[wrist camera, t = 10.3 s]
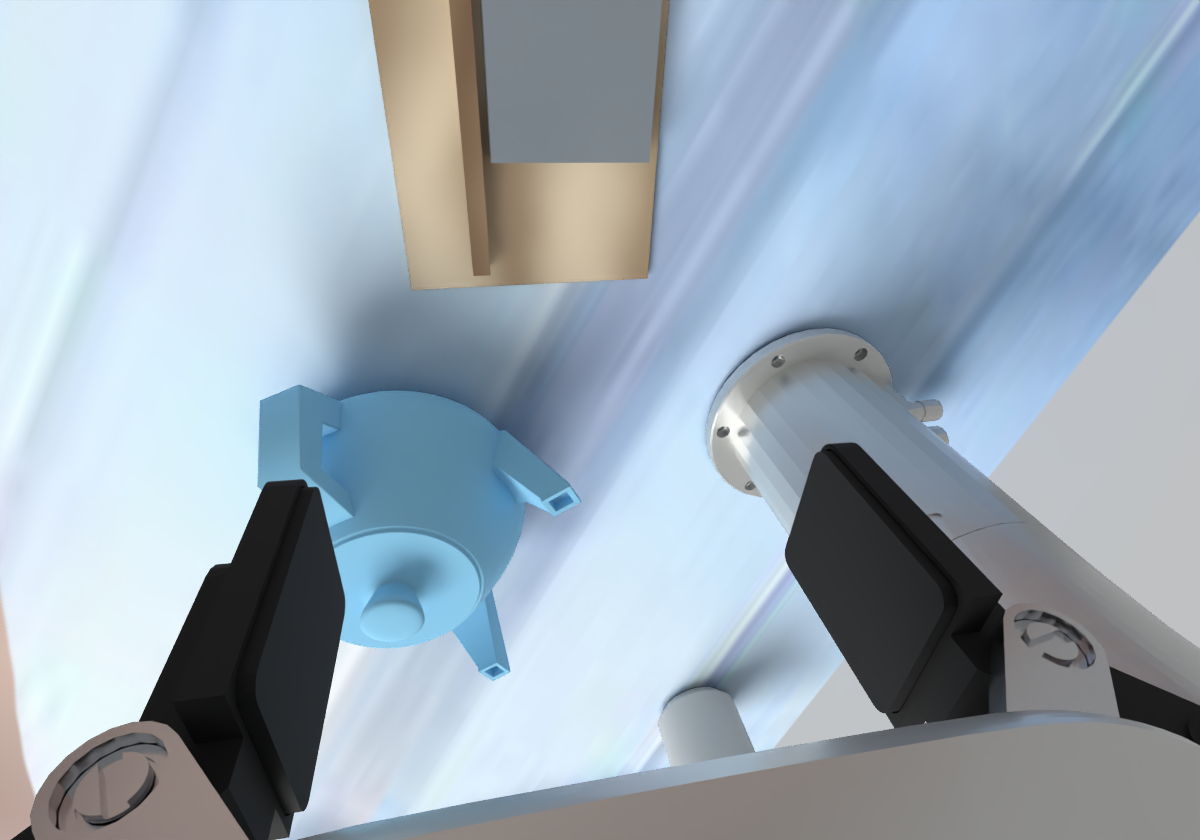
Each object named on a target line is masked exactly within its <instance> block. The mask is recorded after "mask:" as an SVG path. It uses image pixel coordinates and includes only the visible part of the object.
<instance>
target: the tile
mask: <svg viewBox="0 0 1200 840" xmlns="http://www.w3.org/2000/svg"><path fill="white" fill-rule="evenodd" d="M661 7H662V0H480V16H481V33H482V50H483V66H484V83H485V100H486V117H487V134H488V150H489V158H490V161H491V163H649V161H650V148H651V135H652V123H653V110H654V97H655V84H656V71H657V58H658V46H659V33H660V20H661Z"/></svg>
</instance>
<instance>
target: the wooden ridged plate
mask: <svg viewBox="0 0 1200 840" xmlns="http://www.w3.org/2000/svg"><path fill="white" fill-rule="evenodd" d="M368 1H369V8H370V14H371V21H372V28H373V34H374V41H375V48H376V54H377V61H378V68H379V74H380V81H381V88H382V95H383V101H384V108H385V115H386V121H387V128H388V135H389V141H390V148H391V155H392V161H393V168H394V175H395V182H396V188H397V195H398V202H399V208H400V215H401V222H402V228H403V235H404V242H405V248H406V255H407V262H408V269H409V275H410V282H411V289H412V290H425V289H445V288H465V287H484V286H504V285H524V284H544V283H564V282H584V281H604V280H624V279H644V278H648V266H649V253H650V240H651V227H652V214H653V202H654V189H655V176H656V163H657V150H658V137H659V125H660V112H661V99H662V86H663V73H664V60H665V48H666V35H667V22H668V9H669V0H662V7H661V20H660V33H659V46H658V58H657V71H656V84H655V97H654V110H653V123H652V135H651V148H650V161H649V163H491V161H490V158H489V150H488V134H487V117H486V100H485V83H484V66H483V50H482V33H481V16H480V0H368Z"/></svg>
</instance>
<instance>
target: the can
mask: <svg viewBox="0 0 1200 840" xmlns="http://www.w3.org/2000/svg"><path fill="white" fill-rule="evenodd" d="M658 727H659V730H660V733H661V736H662V740H663V743H664V746H665V749H666V753H667V756H668V759H669V762H670V766H671V767H673V766H679V765H685V764H690V763H696V762H702V761H707V760H713V759H719V758H725V757H730V756H736V755H742V754H748V753H753V752H755V750H754V748H753V746H752V743H751V741H750V739H749V736H748V734H747V732H746V729H745V727H744V725H743V722H742V720H741V718H740V715H739V713H738V711H737V708H736V706H735V704H734V701H733V699H732V697H731V696H730V695H728V694H727V693H725V692H722V691H719V690H717V689H715V688H712V687H698V688H693V689H690V690H687V691H684V692H682V693H680V694H679V695H677V696H675V697H674V698H673V699H672V700H670V701H669V702H668V704H667V705H666V707H665V708H664V712H663V713H662V715H661V716H660V718H659V722H658Z"/></svg>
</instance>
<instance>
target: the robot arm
mask: <svg viewBox="0 0 1200 840" xmlns="http://www.w3.org/2000/svg"><path fill="white" fill-rule="evenodd" d="M942 414H943V408H942V405H941V403H940V402H939V401H938V400H935V399H932V400H922V401H916V402H913V403H910V402H908V401H907V400H906V399H905V398H904V397H902V396H901V395H900V394H899V393H898V392H896V391H895V390H894V389H893V388H892V378H891V374H890V370H889V366H888V365H887V363H886V361H885V359H884V358H883V356H882V354H880V353H879V352H878V351H877V350H876V349H875V348H874V347H873V346H872V345H871V344H869V343H868V342H867V341H865V340H864V339H862V338H861V337H859V336H858V335H855V334H852V333H850V332H847V331H845V330H838V329H831V328H821V329H809V330H805V331H801V332H797V333H793V334H790V335H787V336H785V337H783V338H780V339H778V340H776V341H774V342H771V343H770V344H768V345H767V346H765V347H763V348H762V349H760V350H759V351H757V352H755V353H754V354H753V355H752V356H751V357H749V358H748V359H747V360H746V361H745V362H743V363H742V364H741V365H740V366H739V367H738V368H737V369H736V370H735V371H734V373H733V374H732V375H731V376H730V377H729V378H728V379H727V380H726V382H725V383H724V385H723V386H722V388H721V390H720V391H719V393H718V394H717V396H716V398H715V400H714V402H713V405H712V407H711V410H710V412H709V415H708V420H707V425H706V447H707V451H708V455H709V458H710V460H711V461H712V463H713V465H714V467H715V469H716V471H717V472H718V473H719V475H720V476H721V477H722V479H723V480H724V481H725V482H726V483H728V484H729V485H730V486H731V487H733V488H734V489H736V490H738V491H740V492H742V493H744V494H748V495H752V496H757V497H763V498H764V500H765V501H766V503H767V504H768V506H769V507H770V509H771V510H772V512H773V513H774V514H775V516H776V517H777V519H778V520H779V522H780V523H781V525H782V526H783V528H784V529H785V531H786V532H787V534H788V535H789V538H788V541H787V545H786V548H785V558H786V562H787V564H788V567H789V568H790V570H791V572H792V573H793V575H794V576H795V578H796V580H797V581H798V583H799V585H800V586H801V588H802V589H803V591H804V593H805V594H806V596H807V598H808V599H809V601H810V602H811V604H812V606H813V607H814V609H815V611H816V612H817V614H818V615H819V617H820V619H821V620H822V622H823V623H824V625H825V627H826V628H827V630H828V632H829V633H830V635H831V636H832V638H833V640H834V641H835V643H836V645H837V646H838V648H839V649H840V651H841V653H842V654H843V656H844V658H845V659H846V661H847V662H848V664H849V666H850V667H851V669H852V671H853V672H854V674H855V675H856V677H857V679H858V680H859V682H860V684H861V685H862V687H863V688H864V690H865V692H866V693H867V695H868V697H869V698H870V700H871V701H872V703H873V705H874V706H875V707H876V708H877V709H878V710H879V711H880V712H882V713H886V715H887V716H888V718H889V719H890V721H891V723H892V724H893V726H894V729H889V730H883V731H877V732H871V733H865V734H859V735H853V736H847V737H841V738H835V739H829V740H823V741H818V742H812V743H806V744H800V745H794V746H788V747H782V748H777V749H771V750H765V751H759V752H753V753H748V754H742V755H736V756H730V757H725V758H719V759H713V760H707V761H702V762H696V763H690V764H685V765H679V766H673V767H668V768H662V769H656V770H650V771H645V772H639V773H633V774H628V775H622V776H616V777H611V778H605V779H600V780H594V781H589V782H583V783H578V784H572V785H566V786H561V787H555V788H550V789H544V790H539V791H533V792H528V793H522V794H516V795H511V796H505V797H500V798H494V799H489V800H483V801H478V802H472V803H466V804H461V805H456V806H451V807H446V808H441V809H436V810H431V811H426V812H421V813H416V814H411V815H406V816H401V817H396V818H391V819H386V820H380V821H375V822H370V823H365V824H360V825H356V826H351V827H347V828H343V829H339V830H335V831H331V832H327V833H323V834H319V835H315V836H311V837H307V838H303V839H298V840H1200V649H1199V648H1198V647H1197V646H1195V645H1194V644H1192V643H1191V642H1190V641H1188V640H1187V639H1185V638H1184V637H1182V636H1181V635H1180V634H1178V633H1177V632H1176V631H1174V630H1173V629H1171V628H1170V627H1169V626H1167V625H1166V624H1165V623H1164V622H1162V621H1161V620H1159V619H1158V618H1157V617H1156V616H1155V615H1153V614H1152V613H1151V612H1150V611H1148V610H1147V609H1146V608H1145V607H1143V606H1142V605H1141V604H1140V603H1138V602H1137V601H1136V600H1134V599H1133V598H1132V597H1131V596H1129V595H1128V594H1127V593H1126V592H1124V591H1123V590H1122V589H1121V588H1119V587H1118V586H1117V585H1116V584H1114V583H1113V582H1112V581H1111V580H1109V579H1108V578H1106V577H1105V576H1104V575H1103V574H1102V573H1100V572H1099V571H1098V570H1097V569H1095V568H1094V567H1093V566H1092V565H1091V564H1089V563H1088V562H1087V561H1086V560H1085V559H1083V558H1082V557H1081V556H1080V555H1079V554H1077V553H1076V552H1075V551H1074V550H1073V549H1071V548H1070V547H1069V546H1067V544H1065V543H1064V542H1063V541H1062V540H1060V538H1058V537H1057V536H1056V535H1055V534H1053V533H1052V532H1051V531H1050V530H1049V529H1048V528H1046V527H1045V526H1044V525H1043V524H1042V523H1040V522H1039V521H1038V520H1037V519H1036V518H1035V517H1033V516H1032V515H1031V514H1030V513H1029V512H1027V511H1026V510H1025V509H1024V508H1023V507H1021V506H1020V505H1019V504H1018V503H1017V502H1016V501H1014V500H1013V499H1012V498H1011V497H1010V496H1009V495H1007V494H1006V493H1005V492H1004V491H1003V490H1001V489H1000V488H999V487H998V486H997V485H995V484H994V483H993V482H992V481H991V480H989V479H988V478H987V477H986V476H985V475H984V474H982V473H981V472H980V471H979V470H978V469H977V468H975V467H974V466H973V465H972V464H971V463H969V462H968V461H967V460H966V459H965V458H964V457H962V456H961V455H960V454H959V453H958V452H956V451H955V450H954V449H953V448H952V447H951V446H949V445H948V443H949V439H948V436H947V433H946V432H945V430H944V429H943V428H941V427H939V426H931V427H927V426H926V425H924V424H923V423H922V422H927V421H936V420H939V419H940V418H941V417H942ZM344 615H345V594H344V589H343V585H342V581H341V577H340V573H339V569H338V564H337V560H336V556H335V552H334V548H333V544H332V539H331V535H330V531H329V527H328V523H327V518H326V514H325V510H324V506H323V502H322V498H321V493H320V490H319V488H318V487H308V485H307V483H306V481H305V480H304V479H297V480H282V481H268V482H267V483H265V485H264V487H263V489H262V491H261V494H260V496H259V499H258V501H257V503H256V506H255V508H254V510H253V513H252V515H251V517H250V520H249V522H248V524H247V527H246V529H245V531H244V534H243V536H242V538H241V541H240V543H239V546H238V548H237V550H236V553H235V555H234V557H233V560H232V562H231V563H229V564H218V565H215V566H214V567H212V568H211V569H210V571H209V572H208V574H207V575H206V577H205V579H204V581H203V584H202V586H201V588H200V590H199V592H198V594H197V597H196V599H195V601H194V603H193V605H192V608H191V610H190V612H189V614H188V616H187V618H186V621H185V623H184V625H183V627H182V629H181V631H180V634H179V636H178V638H177V640H176V642H175V644H174V647H173V649H172V651H171V653H170V655H169V657H168V660H167V662H166V664H165V666H164V668H163V670H162V673H161V675H160V677H159V679H158V681H157V683H156V686H155V688H154V690H153V692H152V694H151V696H150V699H149V701H148V703H147V705H146V707H145V709H144V712H143V714H142V716H141V718H140V720H139V722H131V723H128V724H125V725H122V726H118V727H115V728H112V729H109V730H107V731H105V732H103V733H102V734H100V735H98V736H96V737H94V738H92V739H90V740H88V741H87V742H85V743H84V744H83V745H81V746H80V747H79V748H77V749H76V750H75V751H73V752H72V753H71V754H69V755H68V756H67V757H66V758H65V759H64V760H63V761H62V762H61V763H60V764H59V765H58V766H57V767H56V768H55V769H54V770H53V771H52V772H51V773H50V774H49V776H48V777H47V779H46V780H45V782H44V784H43V785H42V787H41V788H40V790H39V791H38V793H37V795H36V797H35V801H34V804H33V807H32V810H31V814H30V818H31V826H29V827H28V828H26V829H25V830H24V831H22V832H21V833H20V834H18V835H17V836H16V837H14V838H13V839H11V840H276V839H282V838H287V837H289V835H290V830H291V825H292V820H293V816H294V813H295V812H301V811H304V810H305V809H306V807H307V804H308V801H309V797H310V792H311V786H312V781H313V776H314V771H315V766H316V761H317V755H318V750H319V745H320V740H321V735H322V729H323V724H324V719H325V714H326V709H327V704H328V698H329V693H330V688H331V683H332V678H333V673H334V667H335V662H336V657H337V652H338V647H339V642H340V636H341V631H342V626H343V621H344ZM925 721H926V722H927V723H925ZM924 723H925V724H924Z"/></svg>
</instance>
